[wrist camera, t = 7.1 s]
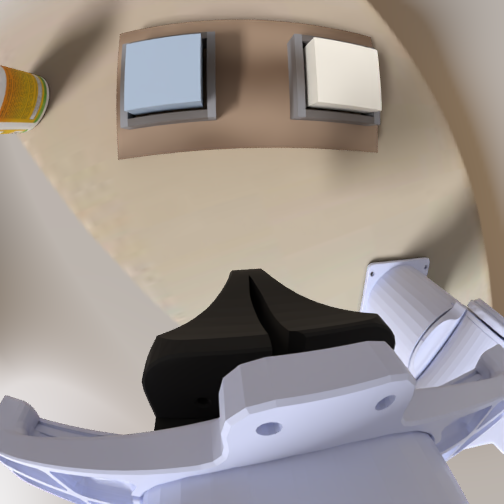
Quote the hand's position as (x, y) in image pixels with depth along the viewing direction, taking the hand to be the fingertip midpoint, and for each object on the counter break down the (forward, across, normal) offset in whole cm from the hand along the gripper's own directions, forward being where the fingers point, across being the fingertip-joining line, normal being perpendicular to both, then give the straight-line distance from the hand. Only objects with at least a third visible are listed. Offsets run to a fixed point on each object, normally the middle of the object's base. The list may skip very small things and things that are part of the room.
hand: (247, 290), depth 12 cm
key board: (+10, -2, -11) cm, 15 cm away
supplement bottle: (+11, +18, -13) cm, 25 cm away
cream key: (+7, -7, -11) cm, 15 cm away
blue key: (+7, +4, -11) cm, 14 cm away
